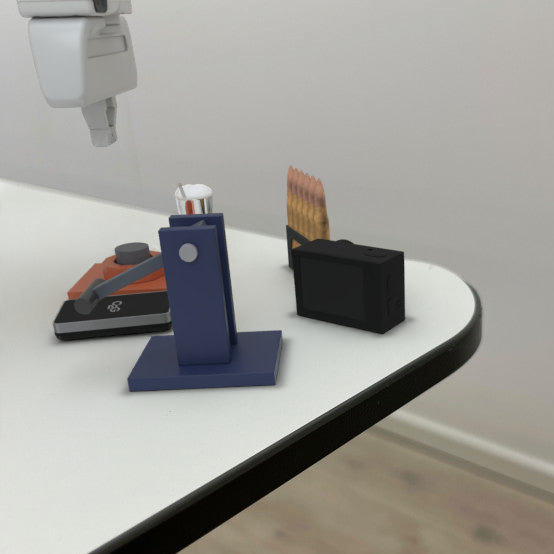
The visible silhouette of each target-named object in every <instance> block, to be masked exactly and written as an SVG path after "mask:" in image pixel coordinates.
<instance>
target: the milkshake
mask: <svg viewBox="0 0 554 554" xmlns="http://www.w3.org/2000/svg"><path fill="white" fill-rule="evenodd" d="M176 183H177V188H176V190H175V192H174V199H175V204H176V207H177V211H178V215H184V214H207V213H214V204H213V203H214V201H213V200H214V198H213V197H214V195H213V194H214V193H213V190H212V188H210V187H209V186H207V185H206V184H203V183H196V184H190V183H187V184H185V185H182V183H181V182H176Z"/></svg>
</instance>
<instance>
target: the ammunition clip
mask: <svg viewBox="0 0 554 554" xmlns="http://www.w3.org/2000/svg"><path fill="white" fill-rule="evenodd" d="M316 179H317V180H316ZM286 187H287V188H286V191H287V192H286V196H287V197H286V216H287V224H286V225H285V233H286V244H287V245H286V246H287V248H286V249H287V261H288V262H287V263H288V268H290V269H291V270H292V271H293V261H292V249H293V248H296V247H298V246H301V245H303V244H306V243H308V242H310V241H313V240H315V239H325V240H331V235H330V234H331V233H330V220H329V215H328V211H327V204H326V203H327V199H326V194H325V193H326V192H325V189H324V184H323V182H322V180H321V179H320V178H316V177H315V176H314V175H311V176H310V174H309V173H308V172H305V173H304V171H303V170H302V169H300V170H299V169H298V168H297V167H293V165H289V167H288V169H287V177H286Z"/></svg>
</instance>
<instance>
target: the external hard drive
mask: <svg viewBox="0 0 554 554" xmlns="http://www.w3.org/2000/svg"><path fill="white" fill-rule="evenodd" d="M76 300H77V299H70V300H69V299H66V300H63V302H62V304H61V305H60V306H59V309H58V311H57V313H56V314H55V316H54V319H53V320H52V328H53V332H54V335H55V338H56V339H57V340H60V341H68V340H76V339H77V340H78V339H87V338H99V337H107V336H108V337H109V336H119V335H128V334H139V333H140V334H141V333H148V332H149V333H150V332H159V331H160V332H161V331H168V330H169V329H171V328H172V327H173V326H172V320H171V313H170V307H169V300H168V293H167V291H157V292H146V293H135V294H124V295H113V296H106V297H104V298H102V299H101V300H100V301H99V302H98V303H97V305H96V306H95V307H94V308H93V310H92V311H91V312H90V313H88V314H80V313H78V312H77V311H76V309H75V307H74V303H75V301H76Z"/></svg>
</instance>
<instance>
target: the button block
mask: <svg viewBox="0 0 554 554" xmlns="http://www.w3.org/2000/svg"><path fill="white" fill-rule="evenodd" d="M149 251H150V257H153V256H155V255H157V254H159V253H161V251H158V250H157V251H156V250H150V249H149ZM136 265H137V264H134V265H120V264H117V261H116V255H115V254H113V255H110V256H108V257H105V259H104V260H103V261H102V262H97V263H94V264H93V265H92V266H91V267H90V268H89V269H88V270H87V271H86V272H85V273H84V274H83V275H82V276H81V277H80V278H79V280H77V281H76V283H75V284H73V286H72V287H71V288H70V289H69V290H68V291H67V292H66V294H67V298H68V299H67V300H70V299H77V298H78V297H79V296H80V295H81V294H82V293H83V292H84V291H85V290H86V289H87V287H88V286H89V285H90V284H91V283H92V282H93V281H94V280H95V279H98V278H101V279H104V280H105V281H107V280H108V279H110V278H112V277H114V276H116V275H118V274H120V273H122V272H124V271H126V270H128V269H130V268H132V267H134V266H136ZM157 291H167V287H166V280H165V274H164V267H163V268H161V269H159V270H157V271H155V272H153V273H151V274H149V275H147V276H145V277H143V278H141V279H139V280H137V281H135V282H133V283H131V284H129V285H128V286H126V287H124V288H122V289H120V290H118V291H116V292H114V293H112V294H110V295H108V296H113V295H124V294H135V293H146V292H157Z"/></svg>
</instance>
